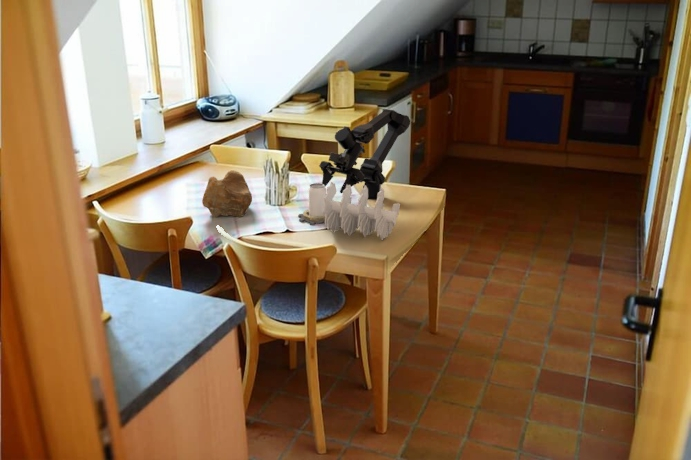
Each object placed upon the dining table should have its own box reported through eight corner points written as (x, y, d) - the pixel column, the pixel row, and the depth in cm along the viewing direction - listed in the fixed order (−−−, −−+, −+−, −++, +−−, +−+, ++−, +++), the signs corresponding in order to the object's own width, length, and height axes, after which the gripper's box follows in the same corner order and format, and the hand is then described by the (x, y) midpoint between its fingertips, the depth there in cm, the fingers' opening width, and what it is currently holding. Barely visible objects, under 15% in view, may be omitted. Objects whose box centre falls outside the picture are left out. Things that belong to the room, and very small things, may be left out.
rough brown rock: (235, 228, 235) (237, 188, 230) (196, 218, 240) (196, 180, 235) (265, 210, 256) (267, 173, 251) (228, 201, 261) (229, 165, 256)
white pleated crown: (388, 254, 222) (321, 240, 229) (403, 218, 233) (338, 206, 240) (385, 216, 209) (314, 203, 216) (401, 180, 220) (332, 169, 227)
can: (327, 218, 240) (327, 187, 236) (310, 219, 239) (309, 188, 235) (325, 212, 246) (324, 182, 241) (308, 213, 245) (307, 183, 241)
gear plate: (340, 213, 248) (340, 208, 247) (331, 226, 235) (331, 221, 234) (304, 210, 251) (304, 205, 250) (293, 223, 238) (293, 218, 237)
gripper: (321, 140, 249) (302, 174, 245) (359, 148, 237) (340, 184, 233) (335, 156, 257) (317, 189, 253) (372, 164, 246) (354, 199, 242)
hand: (331, 190), depth 245 cm, fingers open, 9 cm apart
